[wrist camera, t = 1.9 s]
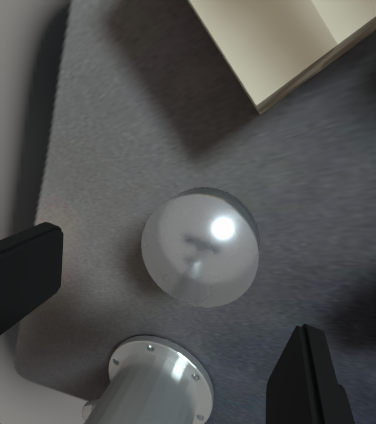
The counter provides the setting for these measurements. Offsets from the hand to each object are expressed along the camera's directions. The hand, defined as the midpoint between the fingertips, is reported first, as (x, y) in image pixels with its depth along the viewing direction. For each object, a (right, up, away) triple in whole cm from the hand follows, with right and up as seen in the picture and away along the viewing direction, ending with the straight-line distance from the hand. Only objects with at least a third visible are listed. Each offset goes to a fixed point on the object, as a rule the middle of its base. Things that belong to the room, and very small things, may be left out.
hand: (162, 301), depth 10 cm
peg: (+4, +3, +13) cm, 13 cm away
